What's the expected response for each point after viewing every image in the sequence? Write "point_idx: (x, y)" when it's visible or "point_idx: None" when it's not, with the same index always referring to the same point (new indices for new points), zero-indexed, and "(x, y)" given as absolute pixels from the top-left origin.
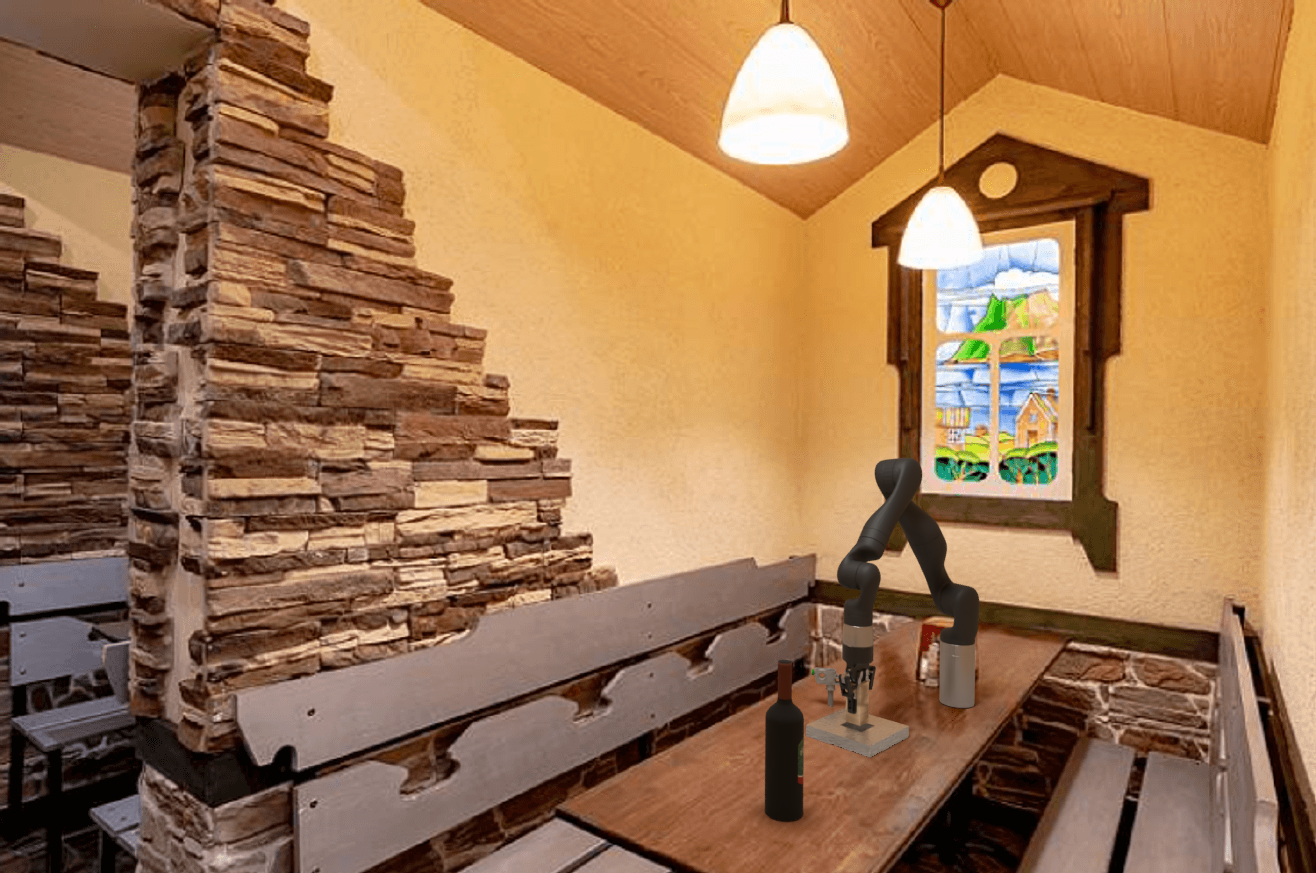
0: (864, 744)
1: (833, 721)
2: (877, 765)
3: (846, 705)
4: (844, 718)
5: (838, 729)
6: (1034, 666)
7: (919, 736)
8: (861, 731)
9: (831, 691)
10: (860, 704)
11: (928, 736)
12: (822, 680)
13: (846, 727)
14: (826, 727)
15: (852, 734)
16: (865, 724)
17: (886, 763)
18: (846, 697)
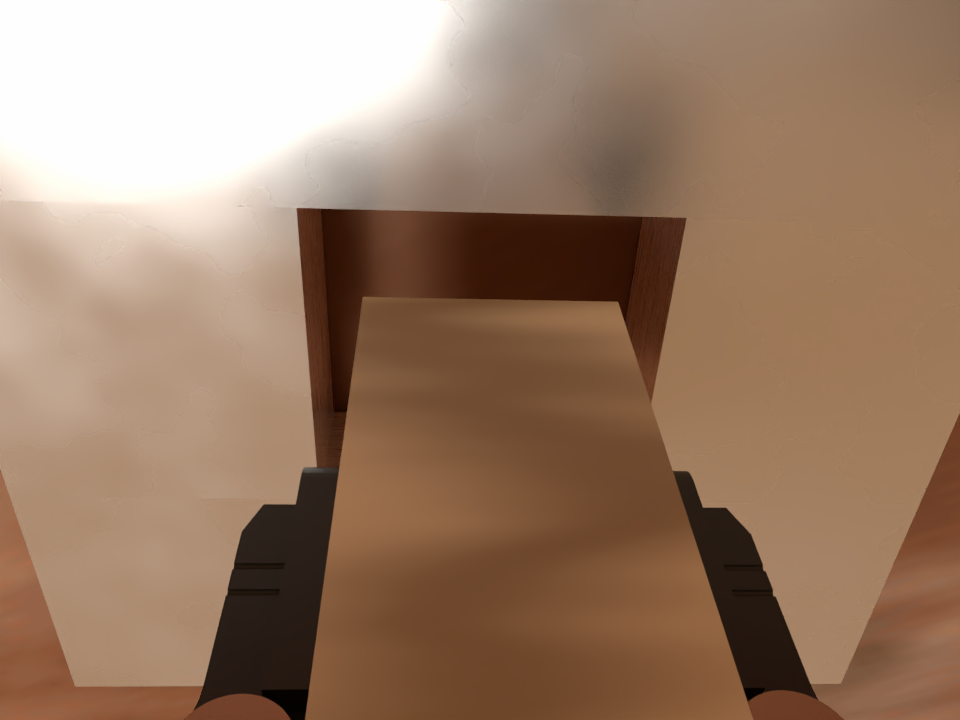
0: (61, 637)
1: (354, 53)
2: (43, 670)
3: (338, 483)
4: (618, 111)
5: (137, 283)
6: None
7: (876, 629)
8: (636, 273)
9: None
10: None
11: (916, 664)
12: None
13: (301, 316)
14: (34, 113)
15: (160, 470)
16: (648, 379)
17: (140, 689)
18: (319, 615)
